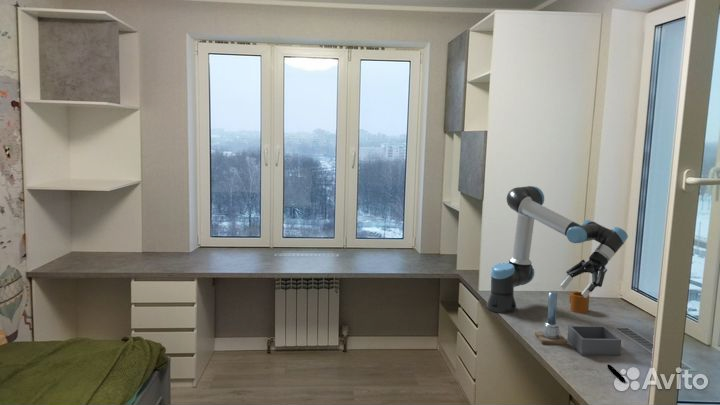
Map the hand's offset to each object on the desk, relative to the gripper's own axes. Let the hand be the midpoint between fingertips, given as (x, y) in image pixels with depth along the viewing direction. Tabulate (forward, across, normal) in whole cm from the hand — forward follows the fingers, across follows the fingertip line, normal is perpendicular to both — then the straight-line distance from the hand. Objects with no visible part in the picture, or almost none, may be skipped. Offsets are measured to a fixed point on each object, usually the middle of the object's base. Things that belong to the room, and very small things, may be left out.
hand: (572, 291), depth 234 cm
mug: (-6, +30, -37) cm, 48 cm away
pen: (+22, -36, -9) cm, 44 cm away
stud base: (+22, 0, -8) cm, 24 cm away
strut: (+21, 0, -6) cm, 21 cm away
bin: (+15, -13, -16) cm, 25 cm away
